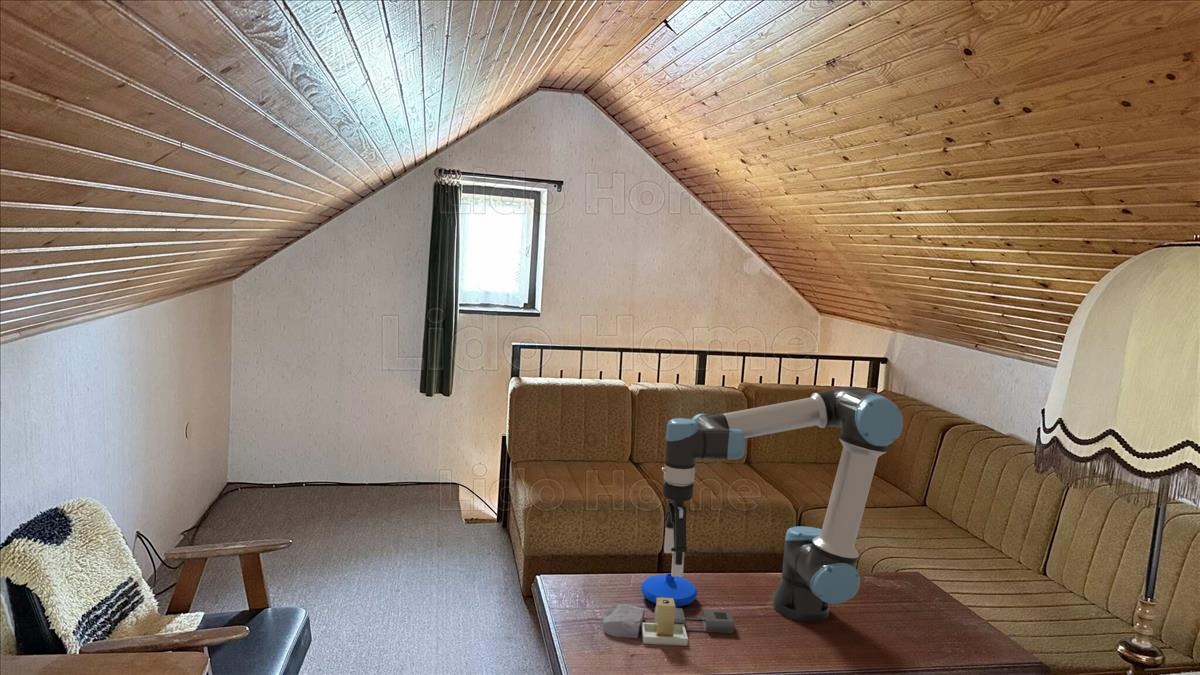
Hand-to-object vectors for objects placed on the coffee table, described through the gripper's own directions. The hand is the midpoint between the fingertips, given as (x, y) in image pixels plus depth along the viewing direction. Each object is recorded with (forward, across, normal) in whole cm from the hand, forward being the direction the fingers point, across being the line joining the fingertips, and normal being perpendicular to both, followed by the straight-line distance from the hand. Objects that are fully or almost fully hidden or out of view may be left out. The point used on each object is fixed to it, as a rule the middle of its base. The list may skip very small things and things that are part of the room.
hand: (673, 563), depth 181 cm
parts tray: (+19, +1, -1) cm, 19 cm away
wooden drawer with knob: (+18, +1, -2) cm, 19 cm away
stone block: (+19, -4, -11) cm, 23 cm away
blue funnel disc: (+19, -20, +3) cm, 28 cm away
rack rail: (+19, -6, +7) cm, 21 cm away
